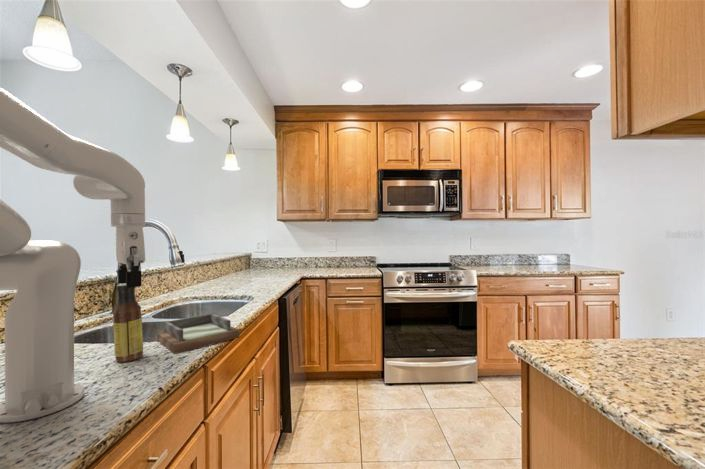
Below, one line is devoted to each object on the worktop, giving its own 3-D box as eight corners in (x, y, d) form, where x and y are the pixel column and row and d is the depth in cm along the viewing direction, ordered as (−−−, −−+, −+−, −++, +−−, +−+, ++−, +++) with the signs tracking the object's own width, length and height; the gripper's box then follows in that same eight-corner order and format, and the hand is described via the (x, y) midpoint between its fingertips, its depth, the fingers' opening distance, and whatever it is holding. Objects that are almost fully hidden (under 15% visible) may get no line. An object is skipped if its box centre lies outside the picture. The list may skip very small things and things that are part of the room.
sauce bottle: (143, 352, 89) (143, 281, 89) (142, 360, 83) (142, 284, 84) (114, 357, 85) (114, 283, 86) (111, 365, 80) (111, 286, 80)
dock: (239, 337, 101) (239, 320, 102) (174, 353, 88) (173, 333, 88) (218, 328, 113) (218, 312, 113) (157, 341, 99) (157, 323, 99)
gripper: (153, 220, 82) (154, 286, 82) (137, 222, 94) (138, 280, 94) (118, 219, 76) (119, 290, 76) (105, 221, 88) (106, 283, 88)
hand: (129, 284), depth 85 cm, fingers open, 9 cm apart
